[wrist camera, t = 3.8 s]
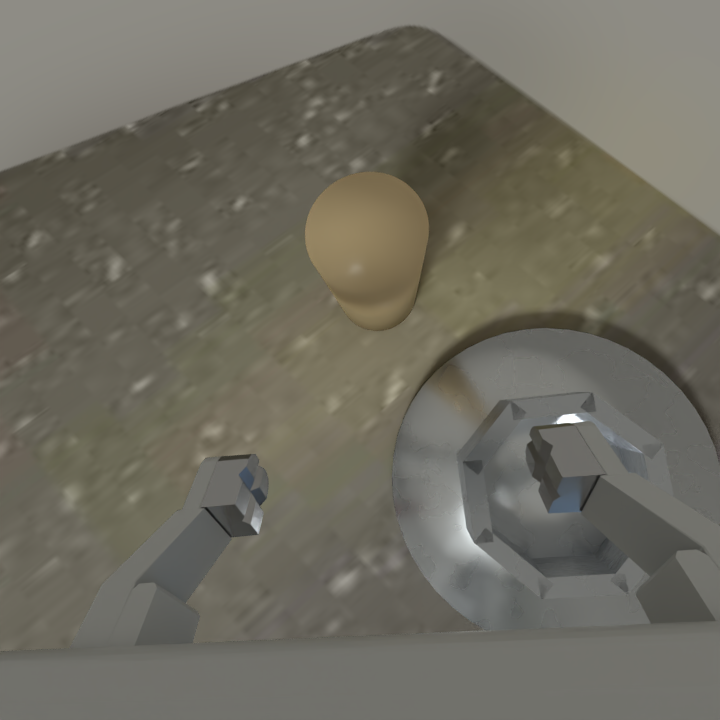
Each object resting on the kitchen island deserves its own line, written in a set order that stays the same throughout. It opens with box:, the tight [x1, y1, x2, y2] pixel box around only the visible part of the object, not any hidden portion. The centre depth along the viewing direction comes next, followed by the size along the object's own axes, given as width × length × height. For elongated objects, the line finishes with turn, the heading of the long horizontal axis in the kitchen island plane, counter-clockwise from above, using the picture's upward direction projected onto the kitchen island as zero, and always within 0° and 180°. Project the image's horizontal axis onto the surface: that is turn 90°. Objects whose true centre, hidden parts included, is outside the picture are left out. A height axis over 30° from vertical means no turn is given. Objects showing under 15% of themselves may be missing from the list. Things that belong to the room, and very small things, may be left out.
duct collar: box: [392, 328, 720, 631], centre depth 19 cm, size 18×18×3 cm
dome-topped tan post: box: [305, 172, 429, 331], centre depth 18 cm, size 5×5×9 cm
